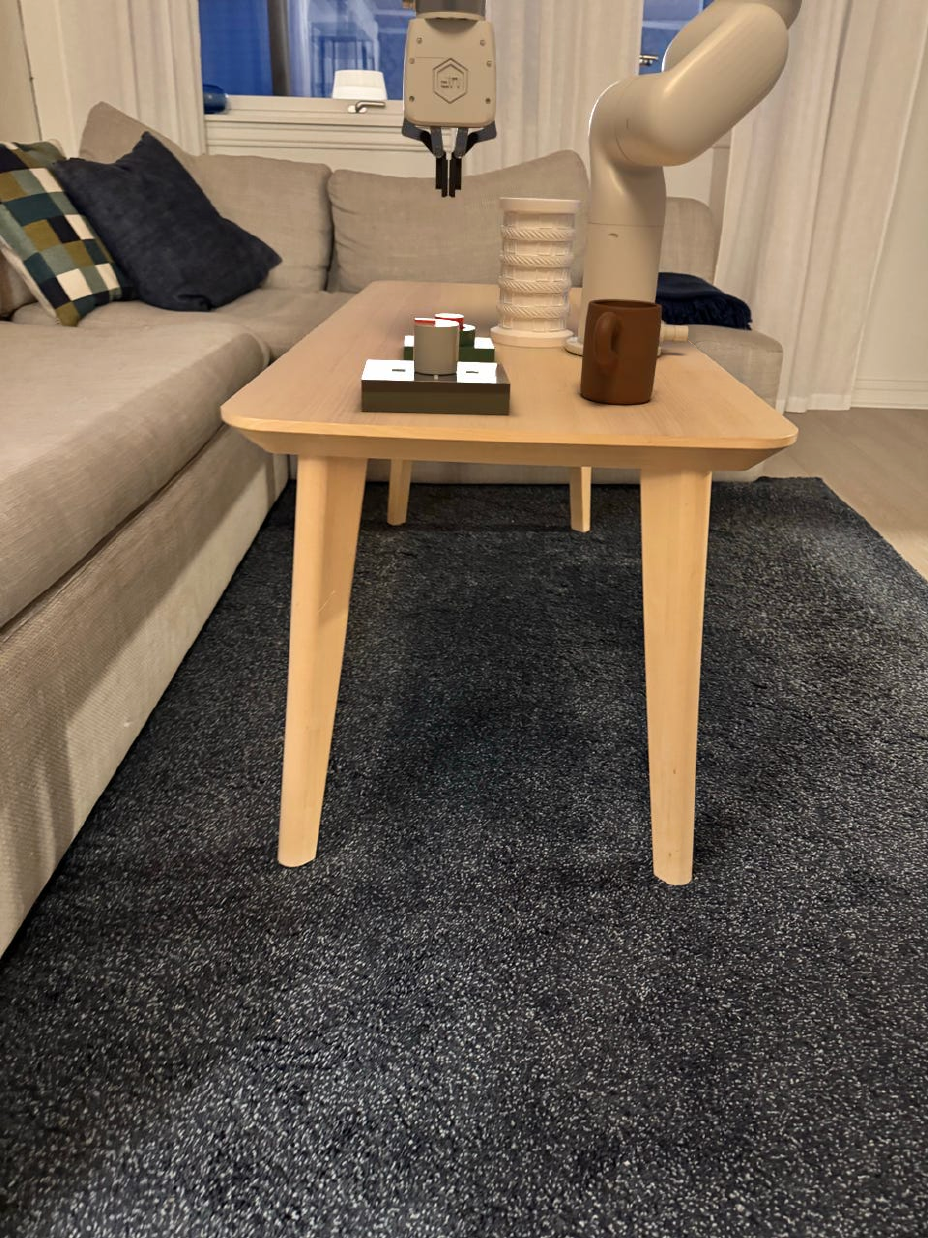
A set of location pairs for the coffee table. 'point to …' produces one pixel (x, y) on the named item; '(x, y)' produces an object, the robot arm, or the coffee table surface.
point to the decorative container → (535, 271)
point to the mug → (620, 350)
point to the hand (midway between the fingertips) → (448, 196)
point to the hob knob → (435, 346)
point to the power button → (451, 318)
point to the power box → (463, 347)
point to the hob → (435, 389)
